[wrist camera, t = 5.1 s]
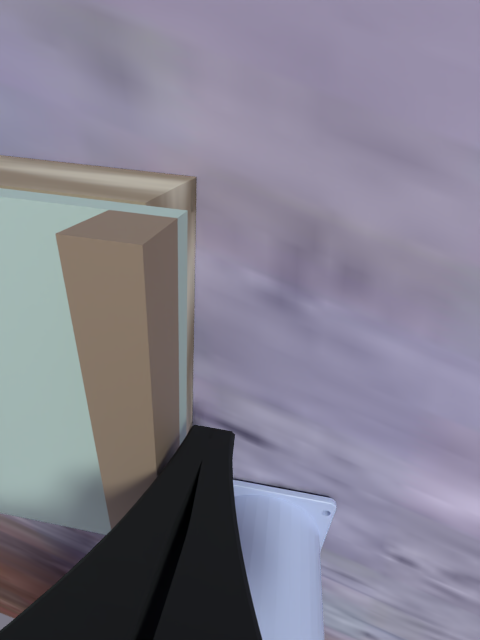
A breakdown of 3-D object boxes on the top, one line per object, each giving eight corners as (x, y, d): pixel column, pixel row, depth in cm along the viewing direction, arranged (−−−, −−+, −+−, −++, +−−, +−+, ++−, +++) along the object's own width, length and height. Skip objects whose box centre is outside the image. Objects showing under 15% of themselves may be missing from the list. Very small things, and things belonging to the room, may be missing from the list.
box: (191, 434, 20) (162, 520, 16) (-59, 390, 21) (-149, 457, 17) (196, 176, 13) (145, 202, 9) (-177, 135, 14) (-379, 140, 10)
